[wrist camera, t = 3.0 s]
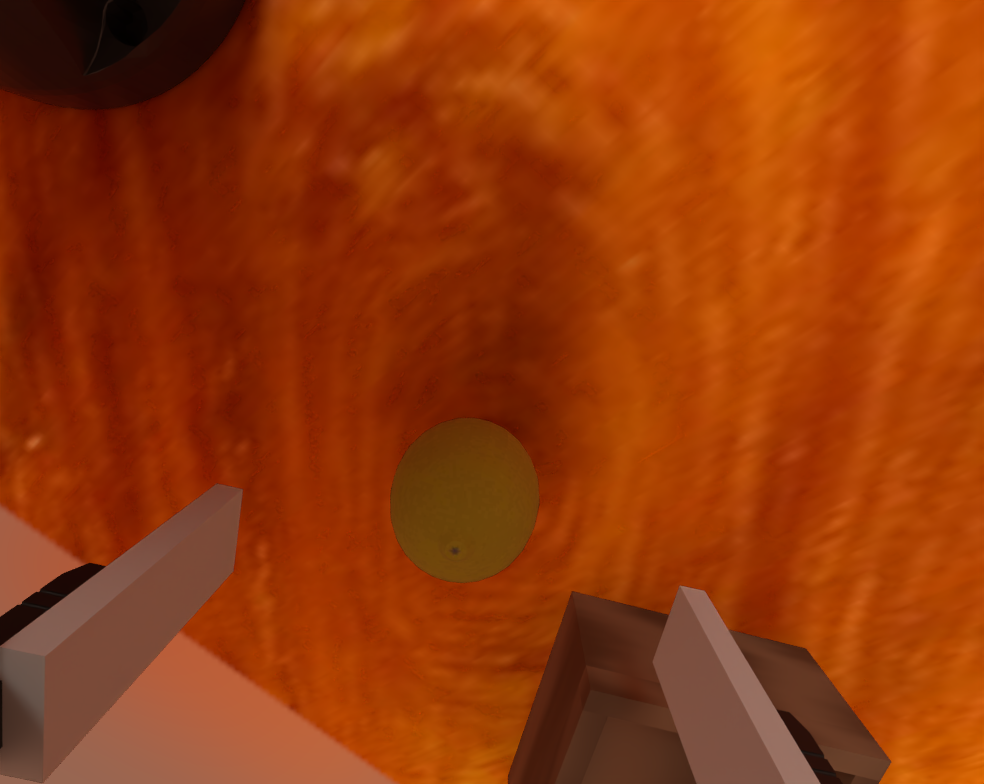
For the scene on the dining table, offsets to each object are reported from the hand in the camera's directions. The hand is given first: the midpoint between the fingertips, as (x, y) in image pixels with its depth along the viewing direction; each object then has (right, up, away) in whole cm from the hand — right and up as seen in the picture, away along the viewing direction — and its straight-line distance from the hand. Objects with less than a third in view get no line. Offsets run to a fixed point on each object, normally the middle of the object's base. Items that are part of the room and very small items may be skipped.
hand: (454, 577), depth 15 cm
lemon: (0, +3, +8) cm, 9 cm away
